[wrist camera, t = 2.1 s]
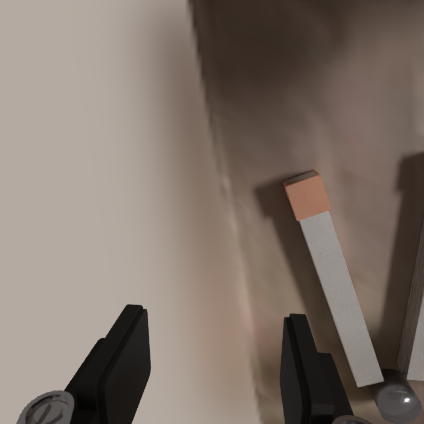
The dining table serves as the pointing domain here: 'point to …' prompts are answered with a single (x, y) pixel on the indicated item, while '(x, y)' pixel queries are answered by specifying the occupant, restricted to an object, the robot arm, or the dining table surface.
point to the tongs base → (406, 356)
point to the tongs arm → (333, 274)
